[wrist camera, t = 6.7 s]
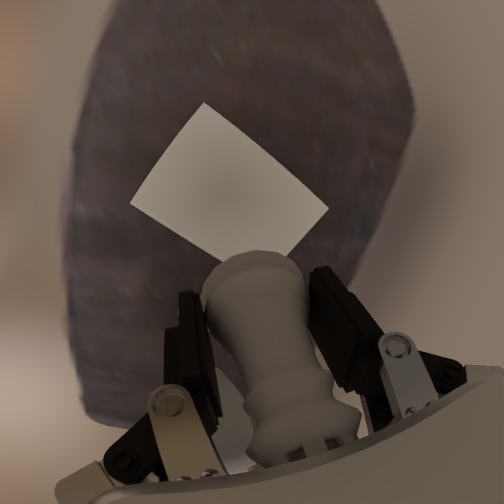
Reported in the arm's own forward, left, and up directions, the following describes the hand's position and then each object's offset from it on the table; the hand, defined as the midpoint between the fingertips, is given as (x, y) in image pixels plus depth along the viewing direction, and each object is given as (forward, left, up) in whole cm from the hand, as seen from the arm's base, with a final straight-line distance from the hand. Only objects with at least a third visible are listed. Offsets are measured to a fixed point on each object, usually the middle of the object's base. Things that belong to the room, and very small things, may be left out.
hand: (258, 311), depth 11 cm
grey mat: (-2, 0, -17) cm, 17 cm away
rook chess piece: (0, 0, -2) cm, 2 cm away
